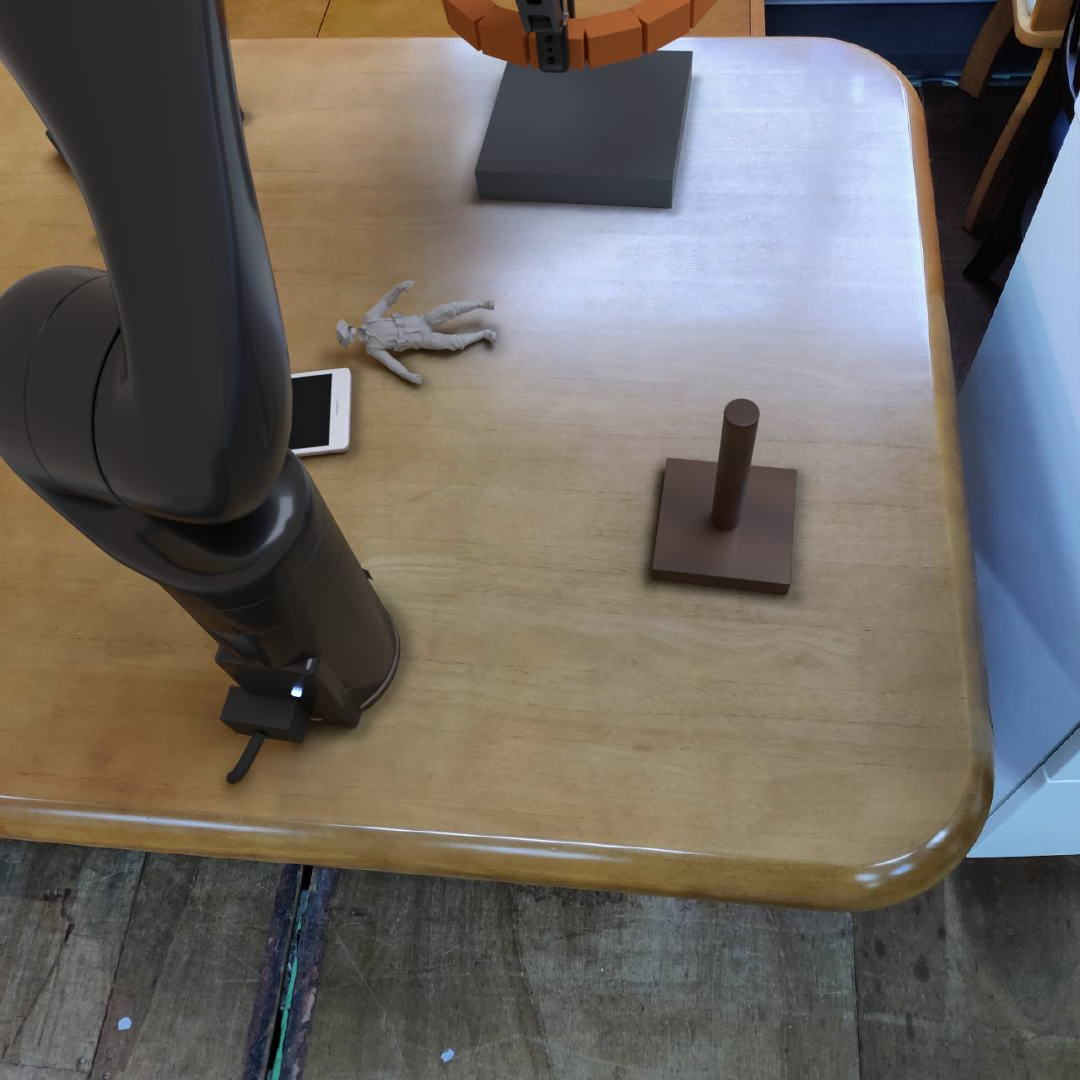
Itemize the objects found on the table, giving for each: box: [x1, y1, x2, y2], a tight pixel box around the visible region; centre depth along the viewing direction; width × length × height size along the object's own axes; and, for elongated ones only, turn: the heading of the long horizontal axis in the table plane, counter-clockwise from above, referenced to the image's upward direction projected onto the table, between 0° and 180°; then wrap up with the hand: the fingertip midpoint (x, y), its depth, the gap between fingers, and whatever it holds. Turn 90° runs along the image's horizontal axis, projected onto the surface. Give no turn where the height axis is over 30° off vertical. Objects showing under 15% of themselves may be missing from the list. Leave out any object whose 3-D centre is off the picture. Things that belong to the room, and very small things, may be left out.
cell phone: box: [288, 367, 353, 458], centre depth 74 cm, size 8×16×1 cm, turn 94°
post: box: [651, 397, 798, 595], centre depth 60 cm, size 9×9×14 cm
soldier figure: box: [335, 280, 497, 385], centre depth 75 cm, size 8×5×12 cm
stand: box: [474, 49, 694, 209], centre depth 85 cm, size 17×17×3 cm
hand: (558, 55), depth 69 cm, fingers closed on ring, 2 cm apart
